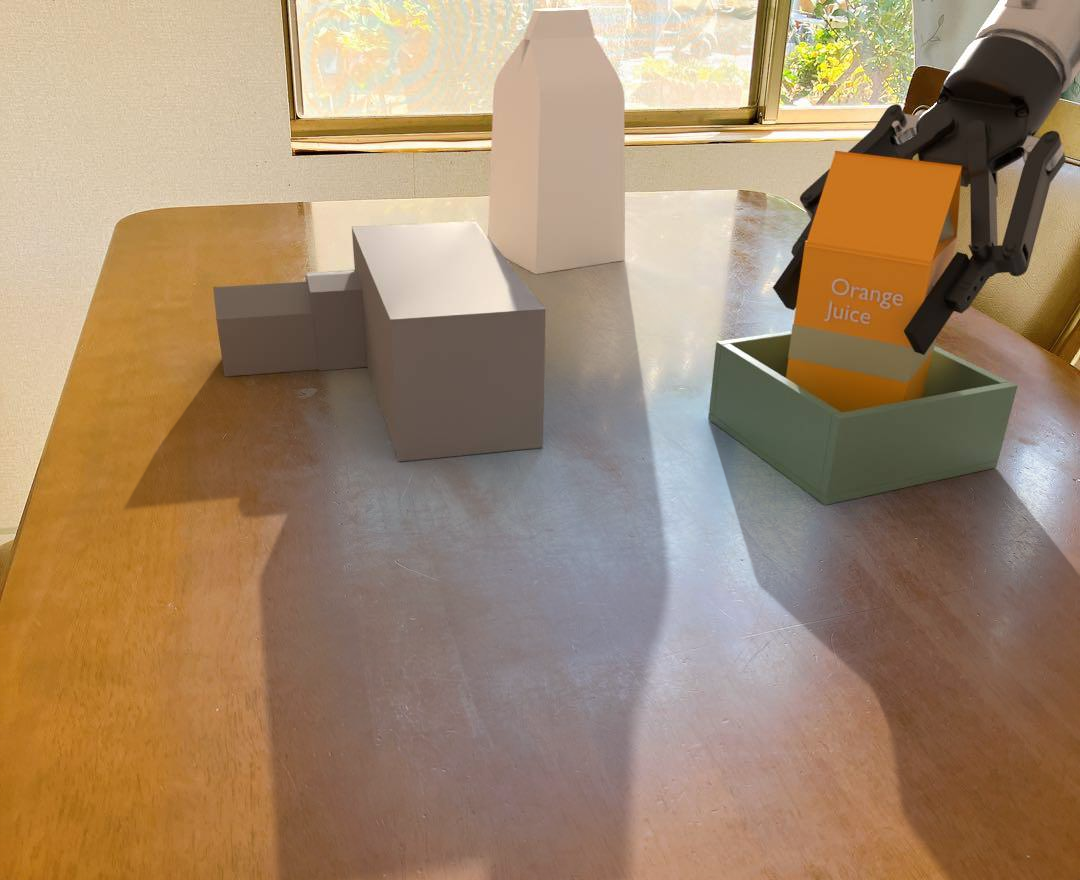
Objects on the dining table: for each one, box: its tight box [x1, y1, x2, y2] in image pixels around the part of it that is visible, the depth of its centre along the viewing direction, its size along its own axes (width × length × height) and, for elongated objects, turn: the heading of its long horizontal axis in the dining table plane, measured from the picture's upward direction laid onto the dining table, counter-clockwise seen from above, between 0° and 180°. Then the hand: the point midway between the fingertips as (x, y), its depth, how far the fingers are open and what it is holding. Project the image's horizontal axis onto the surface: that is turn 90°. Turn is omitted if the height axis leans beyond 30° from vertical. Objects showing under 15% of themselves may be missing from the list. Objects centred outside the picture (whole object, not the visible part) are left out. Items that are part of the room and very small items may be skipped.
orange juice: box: [786, 150, 962, 413], centre depth 78 cm, size 8×9×20 cm
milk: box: [487, 7, 626, 275], centre depth 120 cm, size 12×12×26 cm
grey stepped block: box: [212, 220, 547, 463], centre depth 87 cm, size 25×23×11 cm
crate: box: [707, 330, 1018, 506], centre depth 82 cm, size 16×16×7 cm
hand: (845, 320), depth 77 cm, fingers closed on orange juice, 11 cm apart
